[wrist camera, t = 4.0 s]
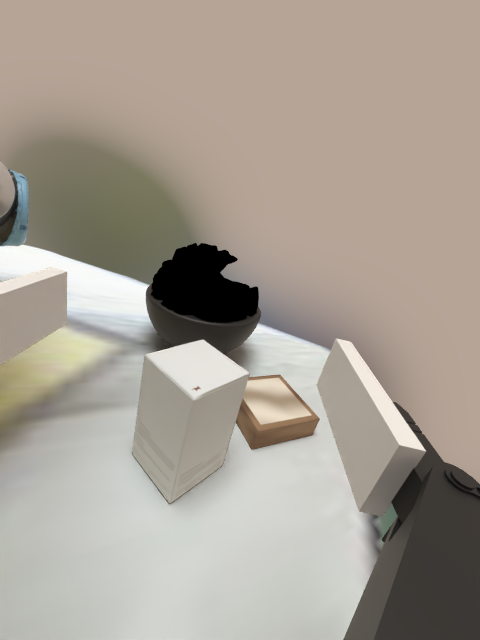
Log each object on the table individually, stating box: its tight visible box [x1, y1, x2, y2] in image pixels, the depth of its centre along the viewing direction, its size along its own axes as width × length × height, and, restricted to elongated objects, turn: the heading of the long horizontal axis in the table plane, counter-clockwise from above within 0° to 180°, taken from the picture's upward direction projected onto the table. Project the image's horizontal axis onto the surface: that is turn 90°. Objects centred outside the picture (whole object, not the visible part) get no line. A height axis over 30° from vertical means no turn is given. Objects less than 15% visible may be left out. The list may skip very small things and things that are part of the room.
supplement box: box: [132, 340, 250, 503], centre depth 29 cm, size 7×7×13 cm
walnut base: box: [236, 375, 319, 449], centre depth 41 cm, size 10×10×3 cm
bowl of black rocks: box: [146, 243, 261, 354], centre depth 50 cm, size 20×20×19 cm
